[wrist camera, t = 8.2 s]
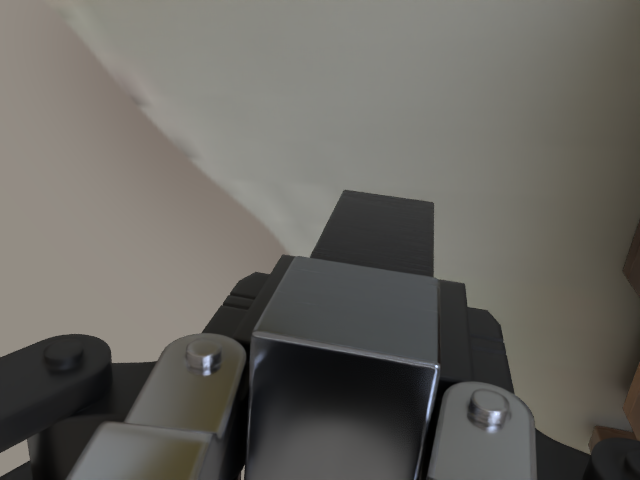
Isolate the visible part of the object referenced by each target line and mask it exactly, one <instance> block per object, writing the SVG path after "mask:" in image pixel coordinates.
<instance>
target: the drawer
mask: <svg viewBox="0 0 640 480" xmlns="http://www.w3.org/2000/svg"><path fill="white" fill-rule="evenodd" d="M623 410H624V412H625V415H626V417H627V419H628V421H629V423H630V425H631V427H632V430H633V432H629V431H624V430H618V429H613V428H608V427H603V426H597V425H596V426H595V427H594V430H593V433H592V436H591V438H590V441H589V444H588V446H589V449H590V452H592V449H593V448H594V446H595V445H596V444H597V443H598V442H599V441H601V440H603V439H607V438H615V437H619V438H628V439H634V440H637V441H640V362H639V365H638V368H637V370H636V373H635V376H634V378H633V381H632V384H631V387H630V389H629V392H628V395H627V397H626V400H625V403H624V405H623Z"/></svg>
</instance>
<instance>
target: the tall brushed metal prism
mask: <svg viewBox="0 0 640 480" xmlns="http://www.w3.org/2000/svg"><path fill="white" fill-rule="evenodd" d="M441 368H442V367H441V305H440V281H439V279H437V278H434V203H433V202H427V201H420V200H413V199H406V198H399V197H392V196H385V195H378V194H371V193H364V192H356V191H349V190H344V191H343V193H342V195H341V197H340V198H339V200H338V202H337V204H336V206H335V208H334V210H333V212H332V214H331V216H330V218H329V220H328V222H327V224H326V226H325V228H324V230H323V232H322V234H321V236H320V238H319V240H318V242H317V244H316V246H315V248H314V250H313V252H312V254H311V256H310V258H308V257H302V256H296V257H294V259H293V261H292V262H291V264H290V266H289V268H288V269H287V271H286V273H285V275H284V276H283V278H282V280H281V282H280V283H279V285H278V287H277V289H276V291H275V292H274V294H273V296H272V298H271V299H270V301H269V303H268V305H267V306H266V308H265V310H264V312H263V313H262V315H261V317H260V319H259V320H258V322H257V324H256V326H255V327H254V329H253V331H252V333H251V345H250V367H249V388H248V410H247V431H246V452H245V474H244V480H419V476H420V471H421V466H422V461H423V456H424V451H425V446H426V441H427V436H428V432H429V427H430V422H431V417H432V412H433V407H434V402H435V397H436V392H437V388H438V383H439V378H440V373H441Z"/></svg>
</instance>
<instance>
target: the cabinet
mask: <svg viewBox="0 0 640 480" xmlns="http://www.w3.org/2000/svg"><path fill="white" fill-rule="evenodd" d="M623 274H624V275H625V276H626V278H627V279H628V281H629V283H630V284H631V286H632V287H633V288H634V290H635V291H636V293H637V294H638V296H639V297H640V220H639V223H638V226H637V229H636V232H635V235H634V238H633V241H632V244H631V247H630V250H629V253H628V256H627V259H626V262H625V265H624V268H623Z"/></svg>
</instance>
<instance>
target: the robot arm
mask: <svg viewBox="0 0 640 480" xmlns="http://www.w3.org/2000/svg"><path fill="white" fill-rule="evenodd" d="M294 257H296V256H290V255H282V256H281V258H280V259H279V261H278V263H277V264H276V266H275V267H274V269H273V271H272V272H271V274H265V273H258V272H255V273H253V274H251V275H250V276H247V277H245V278H244V279H242V280H240V281H239V282H238V283H237V285H236V286H235V287H234V288H233V290H232V291H231V293H230V295H229V296H228V297H227V298H226V300H225V301H224V302H223V306H222V305H221V306H220V308H219V309H218V311H217V312H216V313H215V315H214V316H213V318H212V319H211V320H210V322H209V323H208V325H207V326H206V327H205V329H204V330H203V332H202V333H200V334H193V335H188V336H185V337H182V338H179V339H177V340H175V341H173V342H172V343H170V344H169V345H168V346H167V347H166V348H165V349H164V351H163V352H162V353H161V355H160V357H159V359H158V361H155V362H143V363H112V362H111V361H112V360H111V350H110V347H109V346H108V344H107V343H106V342H104V341H103V340H101V339H99V338H97V337H94V336H89V335H82V334H69V335H61V336H55V337H52V338H48V339H45V340H42V341H40V342H37V343H35V344H32V345H30V346H28V347H26V348H22V349H20V350H18V351H15V352H13V353H10V354H8V355H6V356H3V357H0V453H1V452H3V451H5V450H7V449H9V448H10V447H12V446H14V445H16V444H18V443H20V442H22V441H24V440H25V439H27V442H28V448H29V456H30V461H28V462H27V463H24V464H23V465H21V466H19V467H17V468H15V469H14V470H12V471H10V472H8V473H6V474H5V475H3V476H1V477H0V480H241V471H242V469H243V467H244V465H245V452H246V431H247V410H248V388H249V367H250V345H251V333H252V331H253V329H254V327H255V326H256V324H257V322H258V320H259V319H260V317H261V315H262V313H263V312H264V310H265V308H266V306H267V305H268V303H269V301H270V299H271V298H272V296H273V294H274V292H275V291H276V289H277V287H278V285H279V283H280V282H281V280H282V278H283V276H284V275H285V273H286V271H287V269H288V268H289V266H290V264H291V262H292V261H293V259H294ZM439 281H440V305H441V367H442V368H441V373H440V378H439V383H438V388H437V392H436V397H435V402H434V407H433V412H432V417H431V422H430V427H429V432H428V436H427V441H426V446H425V451H424V456H423V461H422V466H421V471H420V476H419V480H640V441H637V440H634V439H628V438H619V437H615V438H607V439H603V440H601V441H599V442H598V443H597V444H596V445H595V446H594V448H593V449H592V452H591V455H589V454H586V453H584V452H582V451H579V450H577V449H574V448H572V447H569V446H567V445H564V444H562V443H560V442H558V441H555V440H553V439H551V438H550V437H548V436H546V435H544V434H543V433H542V432H540V431H539V430H537V429H536V428H535V421H534V416H533V414H532V412H531V410H530V409H529V407H528V406H527V405H526V404H525V403H524V402H523V401H522V400H521V399H520V398H519V397H517V396H516V395H515V393H514V389H513V384H512V379H511V374H510V369H509V364H508V359H507V355H506V349H505V345H504V343H503V335H502V330H501V325H500V324H499V323H498V322H497V320H496V319H495V318H494V317H493V316H492V315H491V314H490V313H489V312H488V310H482V309H476V308H470V307H467V298H466V289H465V284H464V283H458V282H452V281H446V280H439Z"/></svg>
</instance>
